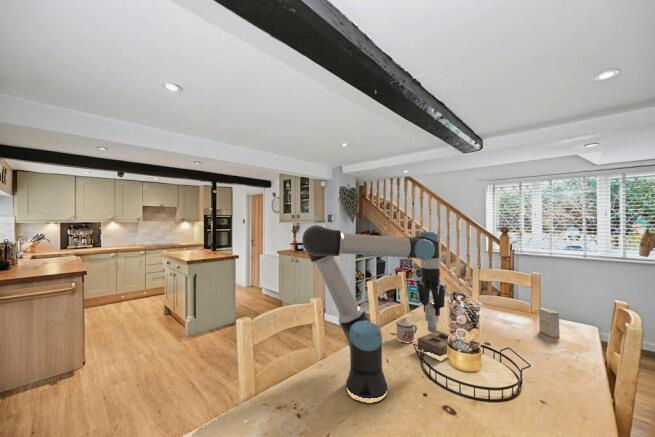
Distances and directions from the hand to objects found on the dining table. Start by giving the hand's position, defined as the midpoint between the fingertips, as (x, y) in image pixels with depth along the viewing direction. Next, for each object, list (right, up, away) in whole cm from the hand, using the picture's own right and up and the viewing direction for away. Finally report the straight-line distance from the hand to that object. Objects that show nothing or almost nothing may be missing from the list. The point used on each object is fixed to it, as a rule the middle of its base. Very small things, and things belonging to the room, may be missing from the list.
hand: (431, 321), depth 114 cm
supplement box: (+75, -18, +29) cm, 82 cm away
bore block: (+8, -19, +12) cm, 24 cm away
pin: (0, -4, 0) cm, 4 cm away
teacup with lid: (-3, -20, +25) cm, 32 cm away
